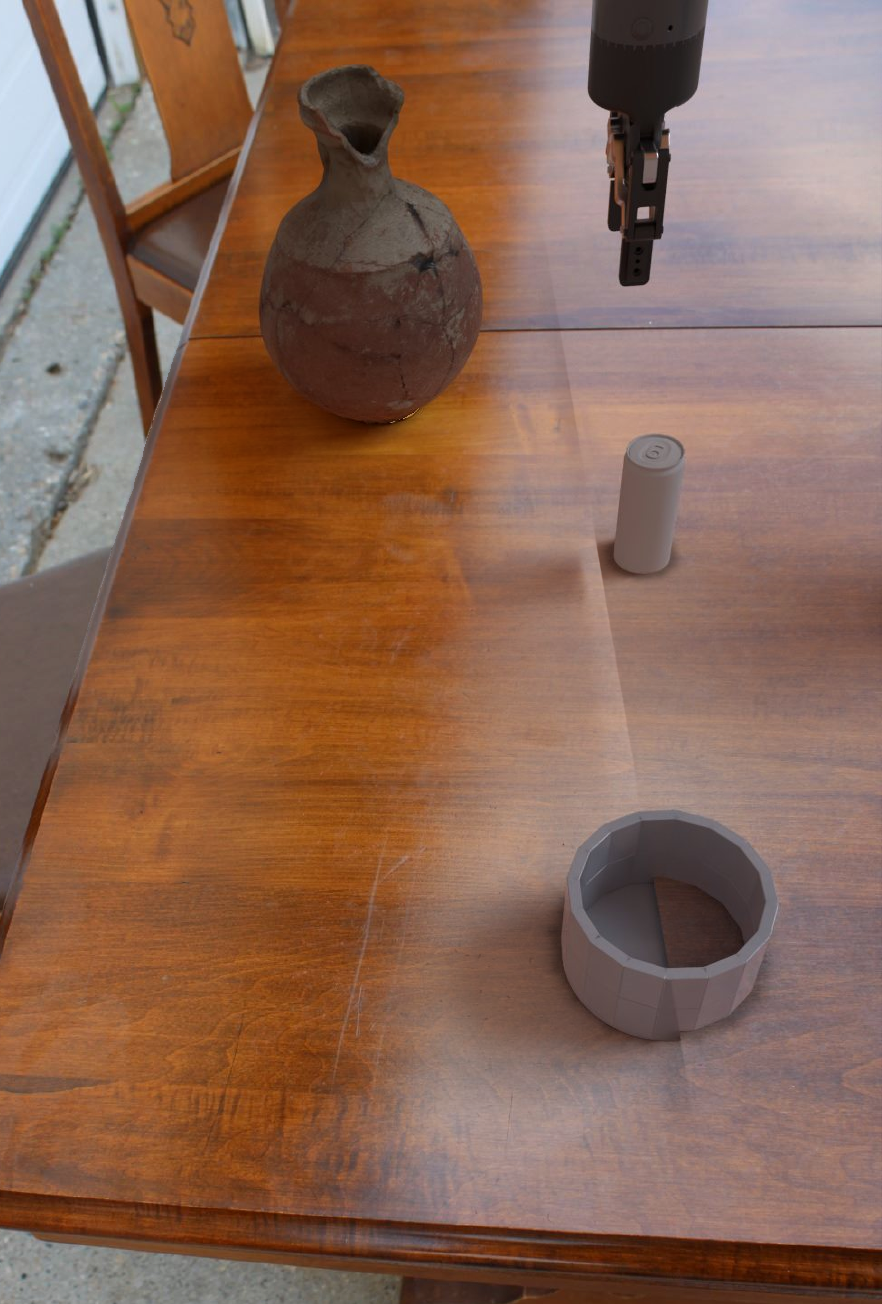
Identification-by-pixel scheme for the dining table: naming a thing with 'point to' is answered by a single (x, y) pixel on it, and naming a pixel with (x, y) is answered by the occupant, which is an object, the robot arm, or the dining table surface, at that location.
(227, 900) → the dining table surface
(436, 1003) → the dining table surface
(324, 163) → the jug
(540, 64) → the dining table surface
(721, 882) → the pot
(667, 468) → the beverage can
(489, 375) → the dining table surface
